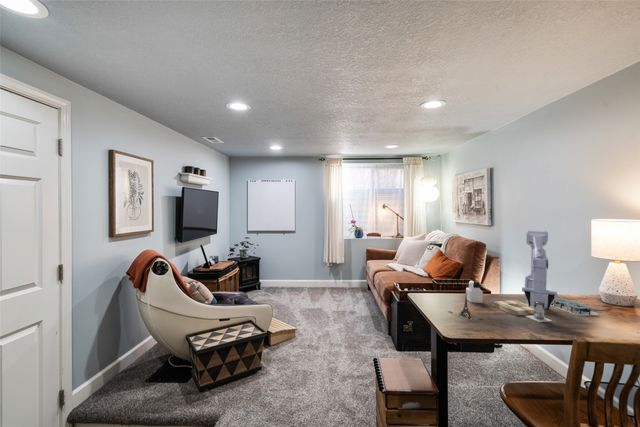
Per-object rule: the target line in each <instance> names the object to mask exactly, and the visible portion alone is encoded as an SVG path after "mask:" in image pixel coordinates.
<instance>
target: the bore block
mask: <svg viewBox="0 0 640 427" xmlns="http://www.w3.org/2000/svg"><path fill="white" fill-rule="evenodd" d="M491 306H492V307H494V308H496V309H498V310H501V311H504V312H506V313H508V314H510V315H513V316H530V315H534V307H533V306H530V307H529V305H527V303H524V302H521V301H519V300H515V299H514V300H500V301H496V300H495V301H492V302H491Z"/></svg>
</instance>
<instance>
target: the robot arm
mask: <svg viewBox="0 0 640 427" xmlns="http://www.w3.org/2000/svg"><path fill="white" fill-rule="evenodd" d="M525 236H526V245H529V246H530V249H531V252H530V255H531V256H530V273H529V274H527V275H525V279H524V286H523V287H521V292H523V293H524V295H525V297H526V304H527V305H529V307H530V306H533V307H534V301H539V302H543V303H545V309H547V310H548V311H549V310H550V308H551V306H550V305H551V303H553V300H555V299H554V298H556V297H558V291H554V290H548V289H547V283H548V282H547V279H548V275H547V272H548V270H549V259H548V256H547V252H546V251H547V250H545V249H544V246H546V245H547V244H548V241H549V233H548V231H547V230H545V231H543V230H542V231H541V230H526V232H525Z"/></svg>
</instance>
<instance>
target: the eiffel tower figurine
mask: <svg viewBox="0 0 640 427" xmlns="http://www.w3.org/2000/svg"><path fill="white" fill-rule="evenodd" d="M464 300H465V301H464V304H463V305H464V306H463V308H462V310H461V311H460V313H459V314H455V316H456V317H458V318H459V319H462V320H466V319H468V318H467V317H466V316H467V314H468V315H469V318H470V317H472V314H471V312H470V309H469V308H468V300H467V293H466V292H465V299H464ZM447 312H448V313H450V314H452V315H454V312H453V311H451V310H447ZM470 315H471V316H470Z"/></svg>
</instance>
